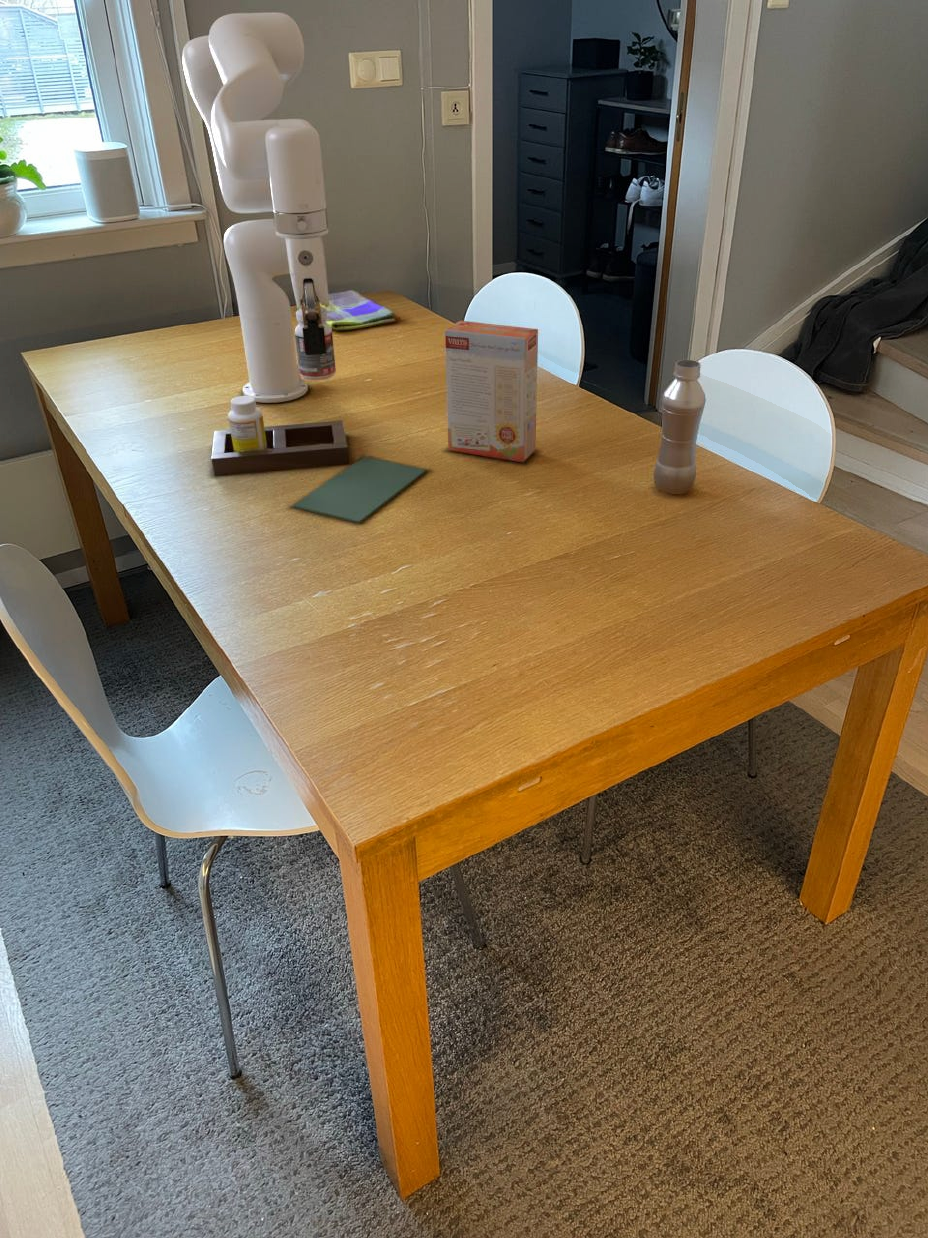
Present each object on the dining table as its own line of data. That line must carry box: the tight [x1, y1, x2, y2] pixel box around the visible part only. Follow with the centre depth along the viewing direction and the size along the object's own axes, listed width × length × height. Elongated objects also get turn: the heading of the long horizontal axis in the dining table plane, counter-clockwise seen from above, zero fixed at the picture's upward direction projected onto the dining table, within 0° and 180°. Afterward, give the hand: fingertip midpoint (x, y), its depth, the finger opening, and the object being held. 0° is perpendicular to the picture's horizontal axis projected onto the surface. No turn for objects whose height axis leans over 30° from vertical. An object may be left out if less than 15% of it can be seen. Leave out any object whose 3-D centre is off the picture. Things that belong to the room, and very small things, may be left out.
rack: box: [211, 419, 350, 477], centre depth 157 cm, size 12×22×3 cm, turn 100°
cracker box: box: [444, 320, 539, 463], centre depth 152 cm, size 14×6×21 cm, turn 65°
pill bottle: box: [294, 307, 337, 381], centre depth 143 cm, size 6×6×10 cm
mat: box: [293, 456, 427, 524], centre depth 146 cm, size 20×12×1 cm, turn 152°
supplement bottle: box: [227, 395, 268, 452], centre depth 154 cm, size 6×6×10 cm
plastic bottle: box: [653, 359, 707, 495], centre depth 139 cm, size 6×7×20 cm
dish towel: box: [296, 289, 396, 331], centre depth 225 cm, size 18×24×3 cm
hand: (314, 346), depth 143 cm, fingers closed on pill bottle, 5 cm apart
